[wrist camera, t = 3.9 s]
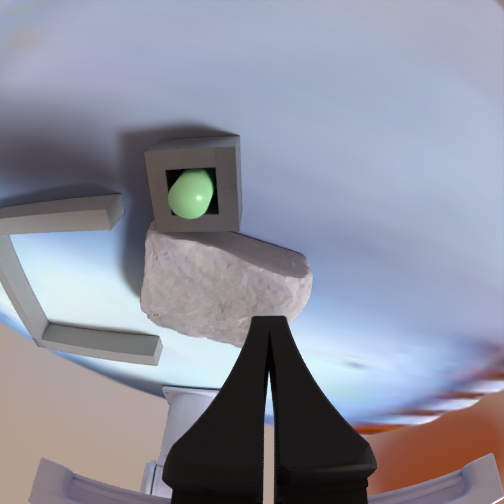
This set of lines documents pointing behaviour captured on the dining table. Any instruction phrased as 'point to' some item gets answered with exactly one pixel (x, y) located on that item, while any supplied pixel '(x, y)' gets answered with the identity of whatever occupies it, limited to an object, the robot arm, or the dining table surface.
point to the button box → (196, 156)
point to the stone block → (220, 283)
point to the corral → (24, 300)
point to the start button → (192, 192)
